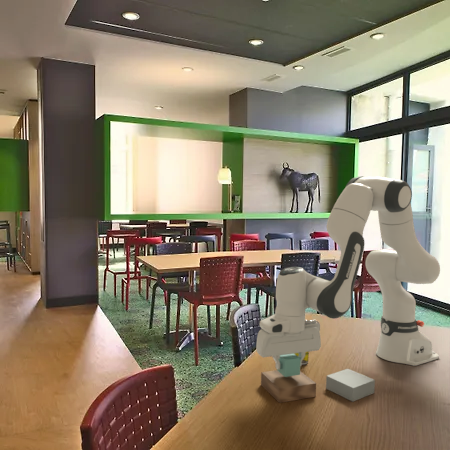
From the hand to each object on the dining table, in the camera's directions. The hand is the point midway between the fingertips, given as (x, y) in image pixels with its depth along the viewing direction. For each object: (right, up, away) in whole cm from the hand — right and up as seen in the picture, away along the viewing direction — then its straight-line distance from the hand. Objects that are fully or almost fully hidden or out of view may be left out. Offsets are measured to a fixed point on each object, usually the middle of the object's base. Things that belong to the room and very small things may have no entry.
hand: (288, 367), depth 131 cm
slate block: (+19, -8, +1) cm, 20 cm away
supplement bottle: (+7, -6, +23) cm, 25 cm away
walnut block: (0, -7, +1) cm, 7 cm away
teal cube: (0, -2, 0) cm, 2 cm away
